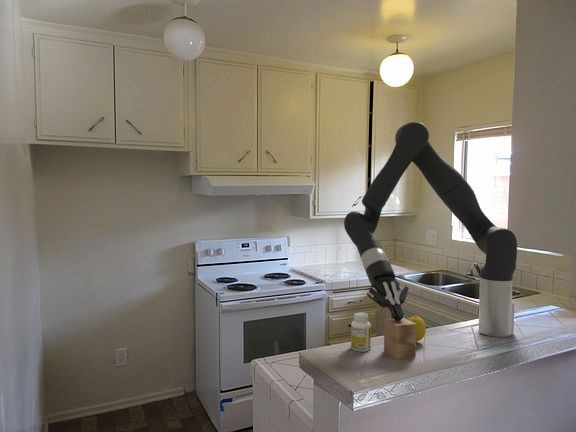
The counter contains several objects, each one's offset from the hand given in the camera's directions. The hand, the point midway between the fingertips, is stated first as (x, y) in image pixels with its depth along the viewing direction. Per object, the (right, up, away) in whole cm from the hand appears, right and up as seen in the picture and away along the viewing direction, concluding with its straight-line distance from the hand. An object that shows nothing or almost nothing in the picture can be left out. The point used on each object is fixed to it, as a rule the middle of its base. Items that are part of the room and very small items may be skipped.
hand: (399, 319), depth 115 cm
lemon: (+7, -9, +10) cm, 16 cm away
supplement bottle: (-10, -10, +5) cm, 14 cm away
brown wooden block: (0, -10, +1) cm, 10 cm away
